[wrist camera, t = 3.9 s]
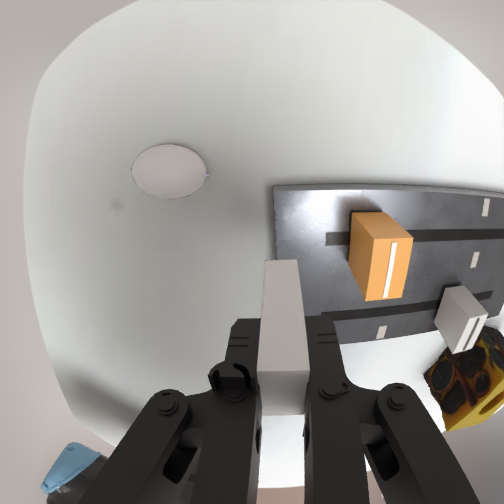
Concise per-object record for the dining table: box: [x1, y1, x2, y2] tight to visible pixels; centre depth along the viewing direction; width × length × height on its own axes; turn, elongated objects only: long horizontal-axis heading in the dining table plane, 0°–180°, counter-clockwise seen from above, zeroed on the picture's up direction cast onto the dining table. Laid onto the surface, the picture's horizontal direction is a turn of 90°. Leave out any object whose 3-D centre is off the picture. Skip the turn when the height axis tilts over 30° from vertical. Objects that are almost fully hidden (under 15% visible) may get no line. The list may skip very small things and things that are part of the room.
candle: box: [424, 325, 504, 432], centre depth 22 cm, size 10×10×10 cm
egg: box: [131, 144, 210, 200], centre depth 17 cm, size 4×6×4 cm, turn 82°
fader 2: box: [434, 285, 488, 354], centre depth 18 cm, size 2×4×5 cm, turn 5°
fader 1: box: [348, 212, 413, 301], centre depth 16 cm, size 2×4×5 cm, turn 5°
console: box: [273, 184, 504, 344], centre depth 20 cm, size 27×14×2 cm, turn 95°
